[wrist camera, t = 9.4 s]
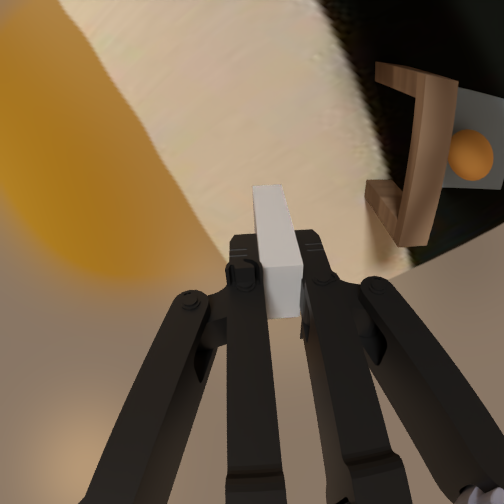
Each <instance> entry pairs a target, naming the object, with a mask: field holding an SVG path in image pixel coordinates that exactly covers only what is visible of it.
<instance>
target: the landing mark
mask: <svg viewBox="0 0 504 504" xmlns="http://www.w3.org/2000/svg"><path fill="white" fill-rule="evenodd" d="M465 129H470V130H475V131H477V132H479V133H481V134H482V135H483V136H484V137H485V138H486V139H487V140H488V141H489V143H490V145H491V147H492V150H493V158H494V159H493V165H492V168H491V170H490V172H489V173H488V174H487V175H486V176H485V177H484V178H482V179H480V180H476V181H469V180H465V179H463V178H461V177H459V176H458V175H457V174H456V173H455V172H454V171H453V170H452V168H451V167H450V165H449V162H448V160H447V165H446V170H445V175H444V180H443V184H442V187H446V188H475V189H496V190H501V187H502V183H503V180H504V99H502V98H499V97H495V96H492V95H488V94H484V93H481V92H477V91H473V90H468V89H464V88H460V87H458V93H457V102H456V110H455V118H454V125H453V132H452V136H453V135H454V134H455V133H457V132H459V131H461V130H465Z"/></svg>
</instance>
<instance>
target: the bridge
mask: <svg viewBox="0 0 504 504" xmlns="http://www.w3.org/2000/svg"><path fill="white" fill-rule="evenodd" d="M375 81H376V82H378V83H381V84H383V85H386V86H389V87H391V88H394V89H396V90H398V91H401V92H403V93H406V94H408V95H410V96H413V97H415V98H416V100H415V110H414V120H413V128H412V137H411V144H410V151H409V158H408V165H407V171H406V177H405V183H404V188H403V192H402V190H401V189H400V188H399V187H398V186H397V185H396V184H395V183H394V182H393V181H392V180H367V181H366V189H365V198H366V200H367V201H368V202H369V204H370V205H371V207H372V208H373V210H374V211H375V213H376V214H377V216H378V217H379V219H380V220H381V222H382V223H383V225H384V226H385V228H386V229H387V231H388V232H389V234H390V235H391V237H392V239H393V240H394V242H395V243H396V245H397V246H398V247H410V246H424V245H427V242H428V239H429V235H430V232H431V228H432V225H433V221H434V217H435V213H436V210H437V206H438V202H439V197H440V193H441V189H442V184H443V180H444V175H445V170H446V165H447V160H448V155H449V150H450V144H451V138H452V132H453V125H454V118H455V110H456V102H457V93H458V83H459V81H456V80H453V79H450V78H447V77H443V76H440V75H437V74H434V73H430V72H427V71H423V70H420V69H416V68H412V67H408V66H405V65H399V64H392V63H384V62H376V61H375Z"/></svg>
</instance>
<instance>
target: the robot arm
mask: <svg viewBox="0 0 504 504" xmlns="http://www.w3.org/2000/svg"><path fill="white" fill-rule="evenodd" d="M252 188H253V207H254V226H255V234H241V235H234V236H233V238H232V239H231V241H230V253H229V256H230V257H229V263H228V264H227V265H226V268H225V272H226V280H227V285H226V287H225V288H224V289H222V290H221V291H219V292H217V293H215V294H212V295H208V296H207V295H206V294H204V293H203V292H201V291H198V290H189V291H185V292H182V293H181V294H179V295H178V296H177V297H176V298H175V299H174V301H173V303H172V304H171V306H170V308H169V311H168V312H167V314H166V316H165V318H164V321H163V323H162V325H161V327H160V329H159V331H158V333H157V335H156V337H155V339H154V341H153V343H152V345H151V347H150V349H149V352H148V354H147V356H146V358H145V360H144V362H143V364H142V366H141V368H140V370H139V373H138V375H137V377H136V379H135V381H134V383H133V386H132V388H131V390H130V392H129V394H128V396H127V399H126V401H125V403H124V405H123V407H122V410H121V412H120V414H119V416H118V419H117V421H116V423H115V426H114V428H113V430H112V433H111V435H110V437H109V439H108V442H107V444H106V447H105V449H104V451H103V454H102V456H101V459H100V461H99V463H98V465H97V468H96V470H95V473H94V475H93V478H92V480H91V483H90V485H89V488H88V490H87V493H86V495H85V497H84V498H83V499H82V500H81V501H80V503H78V504H167V502H168V499H169V496H170V492H171V490H172V487H173V484H174V480H175V477H176V474H177V471H178V468H179V465H180V462H181V459H182V456H183V452H184V450H185V447H186V444H187V441H188V437H189V435H190V431H191V428H192V425H193V422H194V419H195V416H196V413H197V410H198V407H199V404H200V401H201V398H202V395H203V392H204V389H205V386H206V383H207V380H208V377H209V374H210V370H211V367H212V364H213V361H214V358H215V355H216V352H217V348H218V347H219V346H222V345H225V344H227V461H228V462H227V463H228V471H227V477H226V485H225V489H226V490H225V495H226V504H287V499H286V489H285V480H284V474H283V471H282V462H281V451H280V440H279V430H278V420H277V410H276V400H275V390H274V381H273V370H272V360H271V351H270V341H269V331H268V322H267V319H278V318H291V317H299V316H300V311H301V316H302V322H301V333H300V339H304V345H305V350H306V356H307V362H308V367H309V373H310V379H311V385H312V390H313V396H314V402H315V408H316V414H317V421H318V427H319V433H320V439H321V446H322V453H323V459H324V466H325V473H326V481H327V485H326V501H327V504H412V499H411V494H410V490H409V485H408V481H407V476H406V472H405V468H404V465H403V462H402V459H401V458H400V456H399V455H398V454H396V453H394V452H393V451H392V449H391V446H390V443H389V438H388V434H387V430H386V427H385V423H384V419H383V415H382V411H381V408H380V404H379V401H378V397H377V393H376V390H375V386H374V383H373V380H372V376H371V373H370V370H371V371H372V373H373V375H374V376H375V378H376V380H377V381H378V383H379V385H380V386H381V388H382V390H383V391H384V393H385V395H386V396H387V398H388V400H389V401H390V403H391V405H392V406H393V408H394V409H395V412H396V413H397V415H398V417H399V418H400V420H401V422H402V423H403V425H404V427H405V429H406V430H407V432H408V434H409V436H410V437H411V439H412V440H413V443H414V444H415V446H416V448H417V449H418V451H419V453H420V455H421V456H422V458H423V460H424V462H425V464H426V466H427V467H428V469H429V471H430V473H431V474H432V477H433V478H434V480H435V482H436V483H437V485H438V486H439V488H440V489H441V491H442V492H443V493H444V494H445V496H446V497H447V498H448V499H449V500H450V501H451V502H452V503H453V504H504V435H503V434H502V432H501V430H500V429H499V427H498V426H497V424H496V423H495V421H494V419H493V418H492V417H491V415H490V413H489V412H488V410H487V409H486V407H485V406H484V404H483V403H482V402H481V400H480V399H479V397H478V396H477V394H476V393H475V391H474V390H473V388H472V387H471V386H470V384H469V383H468V381H467V380H466V379H465V377H464V376H463V374H462V373H461V372H460V370H459V369H458V367H457V366H456V365H455V363H454V362H453V361H452V359H451V358H450V357H449V355H448V354H447V353H446V351H445V350H444V349H443V347H442V346H441V345H440V343H439V342H438V341H437V339H436V338H435V337H434V336H433V334H432V333H431V332H430V331H429V329H428V328H427V327H426V325H425V324H424V323H423V321H422V320H421V319H420V318H419V316H418V315H417V314H416V313H415V312H414V310H413V309H412V308H411V307H410V305H409V304H408V303H407V302H406V301H405V299H404V298H403V297H402V296H401V294H400V293H399V292H398V291H397V290H396V288H395V287H394V286H393V285H392V284H391V283H390V282H389V281H388V280H387V279H384V278H382V277H377V276H371V277H367V278H365V279H364V280H363V281H362V282H361V285H360V284H353V283H348V282H344V281H342V280H340V278H339V277H338V275H337V274H336V273H334V272H333V271H332V270H331V268H330V265H329V262H328V259H327V256H326V253H325V251H324V248H323V245H322V242H321V240H320V237H319V235H318V234H317V233H316V232H315V231H313V230H312V229H310V230H294V228H293V224H292V220H291V217H290V213H289V210H288V206H287V202H286V199H285V195H284V192H283V188H282V185H281V184H278V185H260V186H252ZM369 368H370V369H369Z"/></svg>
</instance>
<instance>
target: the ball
mask: <svg viewBox="0 0 504 504" xmlns="http://www.w3.org/2000/svg"><path fill="white" fill-rule="evenodd" d="M493 159H494V158H493V150H492V147H491V145H490V143H489V141H488V140H487V139H486V138H485V137H484V136H483V135H482V134H481V133H479V132H477V131H475V130H470V129H465V130H461V131H459V132H457V133H455V134H454V135H453V136H452V138H451V144H450V150H449V155H448V162H449V165H450V167H451V168H452V170H453V171H454V172H455V173H456V174H457V175H458V176H459V177H461V178H463V179H465V180H469V181H476V180H480V179H482V178H484V177H485V176H486V175H487V174H488V173H489V172H490V170H491V168H492V165H493Z"/></svg>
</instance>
